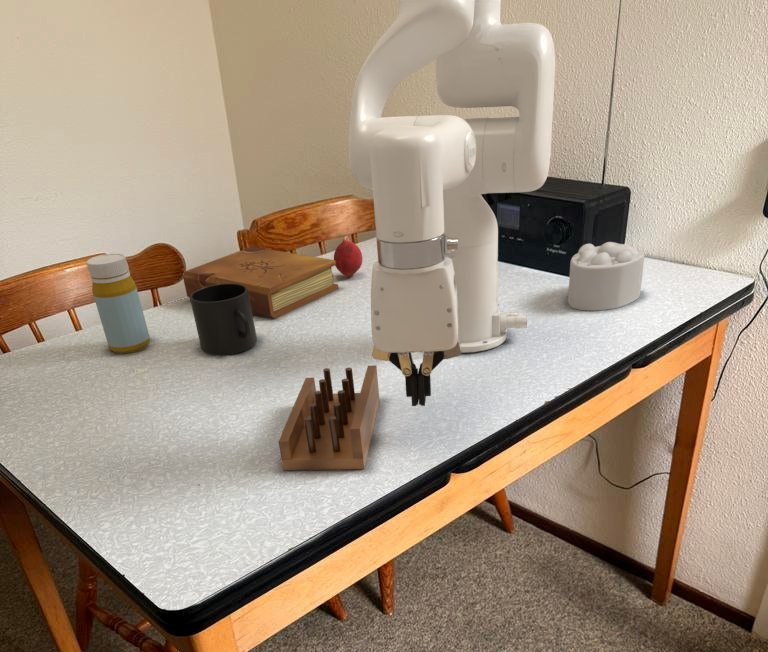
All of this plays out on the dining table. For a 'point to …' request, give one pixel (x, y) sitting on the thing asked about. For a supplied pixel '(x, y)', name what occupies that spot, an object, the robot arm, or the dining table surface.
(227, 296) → the mug
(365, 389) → the rack
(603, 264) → the lumpy-topped squat cylinder
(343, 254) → the onion
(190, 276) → the diary
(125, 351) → the bottle
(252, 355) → the dining table surface
